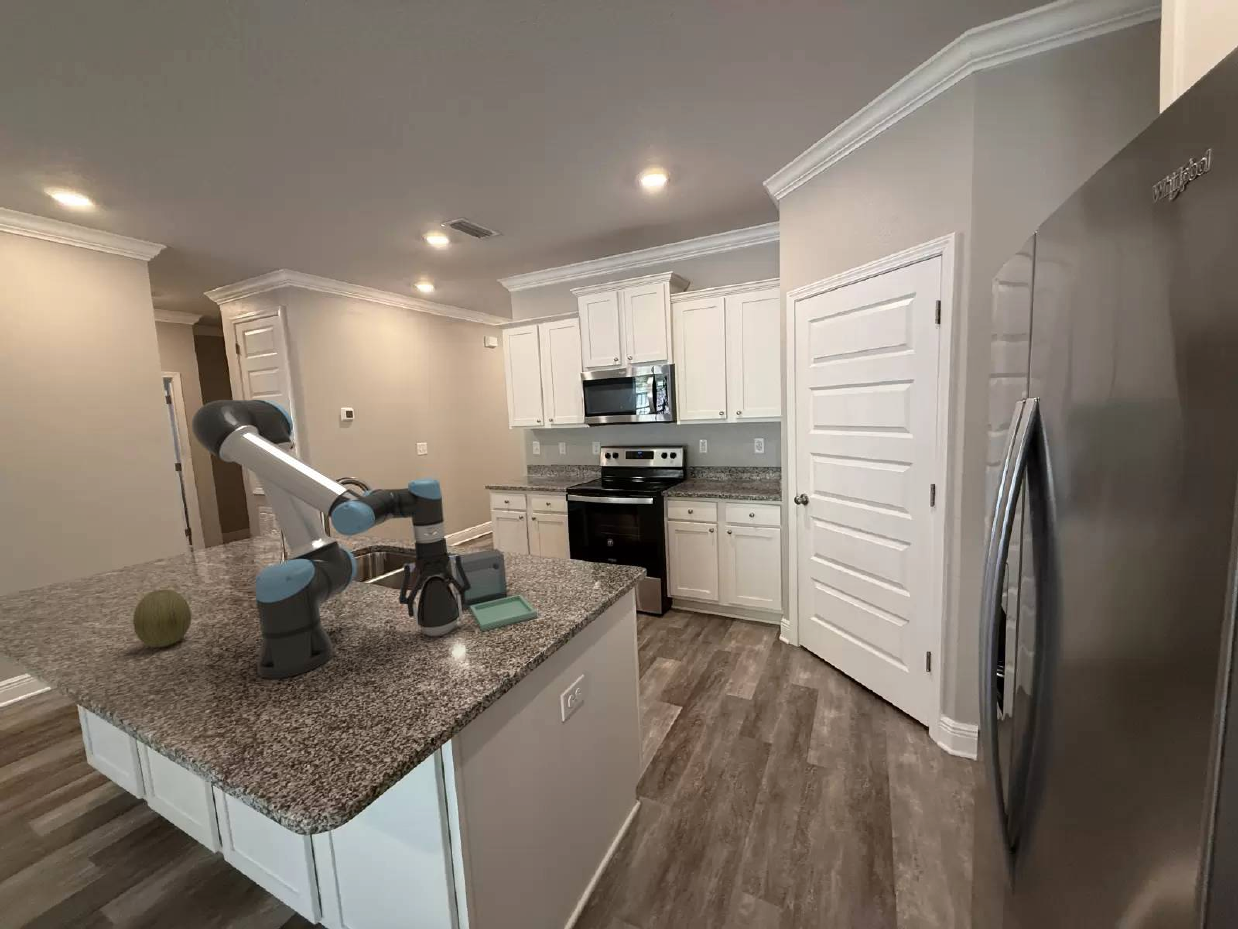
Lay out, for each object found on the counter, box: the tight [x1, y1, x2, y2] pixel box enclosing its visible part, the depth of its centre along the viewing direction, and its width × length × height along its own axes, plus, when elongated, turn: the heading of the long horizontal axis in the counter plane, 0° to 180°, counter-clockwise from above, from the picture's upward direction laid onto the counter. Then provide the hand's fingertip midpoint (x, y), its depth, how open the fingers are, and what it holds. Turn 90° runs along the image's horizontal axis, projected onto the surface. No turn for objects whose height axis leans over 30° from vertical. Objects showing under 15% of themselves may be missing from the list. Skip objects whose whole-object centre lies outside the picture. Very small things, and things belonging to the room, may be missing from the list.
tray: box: [469, 593, 538, 633], centre depth 139 cm, size 15×15×2 cm
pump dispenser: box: [417, 574, 459, 637], centre depth 129 cm, size 10×10×15 cm
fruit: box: [133, 589, 192, 648], centre depth 131 cm, size 11×11×15 cm
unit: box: [450, 548, 508, 611], centre depth 149 cm, size 14×9×14 cm, turn 118°
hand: (438, 621), depth 130 cm, fingers closed on pump dispenser, 10 cm apart
